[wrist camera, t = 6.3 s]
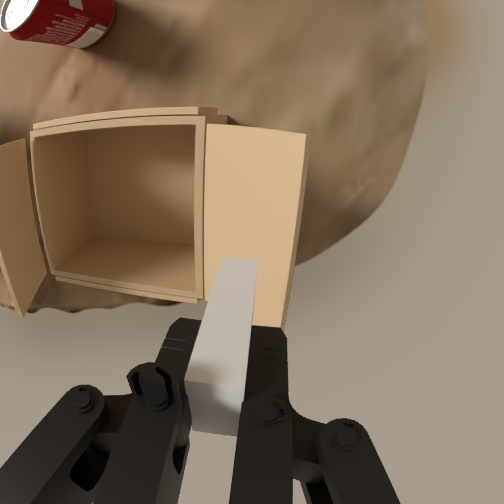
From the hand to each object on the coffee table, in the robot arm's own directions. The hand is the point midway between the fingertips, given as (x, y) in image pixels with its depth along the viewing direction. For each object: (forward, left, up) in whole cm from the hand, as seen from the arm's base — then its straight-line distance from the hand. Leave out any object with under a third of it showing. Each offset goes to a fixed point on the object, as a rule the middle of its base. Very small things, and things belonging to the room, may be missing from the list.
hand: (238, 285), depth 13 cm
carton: (-12, 0, -17) cm, 21 cm away
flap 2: (0, 0, -5) cm, 6 cm away
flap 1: (-18, 0, -4) cm, 19 cm away
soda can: (-20, +19, -18) cm, 32 cm away
